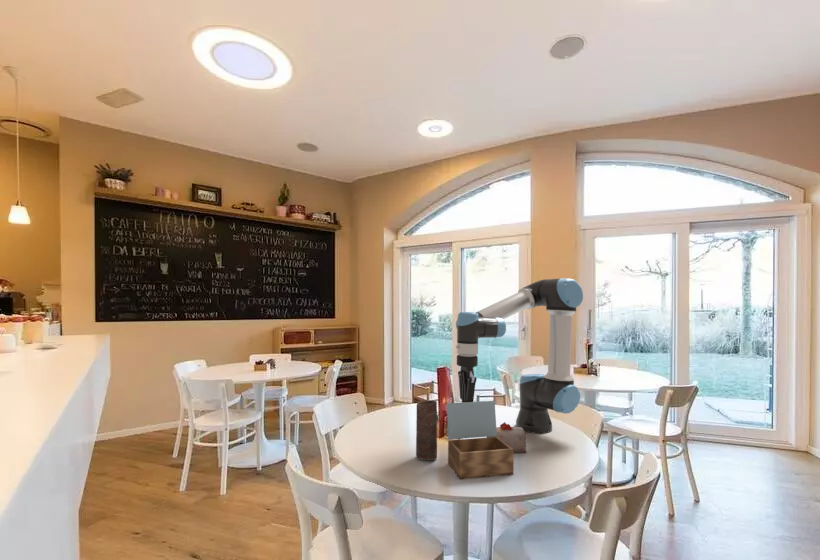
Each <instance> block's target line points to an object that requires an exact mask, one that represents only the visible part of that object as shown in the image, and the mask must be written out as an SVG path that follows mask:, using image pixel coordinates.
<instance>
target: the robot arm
mask: <svg viewBox="0 0 820 560" xmlns="http://www.w3.org/2000/svg"><path fill="white" fill-rule="evenodd" d="M583 294H584V293H583V289H582V287H581V285H580V284H579V282H578V281H577V280H575V279H572V278H564V277H563V278H548V279H547V278H546V279H540V280H537V281H535V282H532V283H529V284H527V285H526V286H524V287H522V288H519V290H518V291H517V293H514V294H512V295H510V296H508V297H506V298H503V299H501V300H499V301H497V302H495V303H492V304H491V305H489V306H486V307H485V308H482V309H479V310H477V311H461V312H459V313H458V314H457V319H456V321H455V322H456V323H455V327H456V331H457V332H456V334H457V335H456V337H457V338H456V344H457V345H456V346H455V348H456V354H457V355H456V365H457V366H458V367H460V370H458V371H457V376H458V386H459V398H460V400H461V402H474V400H475V390H476V383H477V379H478V378H477V377H476V376H475V371H474V368H476V367H477V366H478V364H479V362H478V361H479V360H478V359H479V357H478V354H479V339H481V338H482V339H485V338H487V339H488V338H494V339H497V338H502V337H503V336H505V334H506V331H507V324H506V321H505V319H507V318H509V317H511V316H513V315H516V314H517V313H520V312H521V311H524V310H530V309H533V308H536V307H546V308H545V311H546V312H547V313H548V314H549V326H548V327H549V331H548V336H549V337H548V363H547V364H548V365H547V373H530V374H529V373H528V374H523V375H521V376H520V379H519V412H518V414H517V417H516V420H515V427H522V428H523V429H524V431H525V432H528V433H532V432H535V433H534V434H541V433H540V432H546V433H549V432H548V431H550V430H552V431H553V422H552V420H551V416H550V414H549V410H552V411H555V412H556V413H561V414H571V413H572V412H573V411H575V410H576V408H578V405H579V404H580V399H581V392H580V390H579V388H578V387H577V386H576V385H575V379H574V377H572V375H571V360H572V359H571V354H572V323H573V315H575V313H576V312H577V308H578V307H579V306H581V303H583V299H584V295H583ZM550 432H551V431H550Z"/></svg>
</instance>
